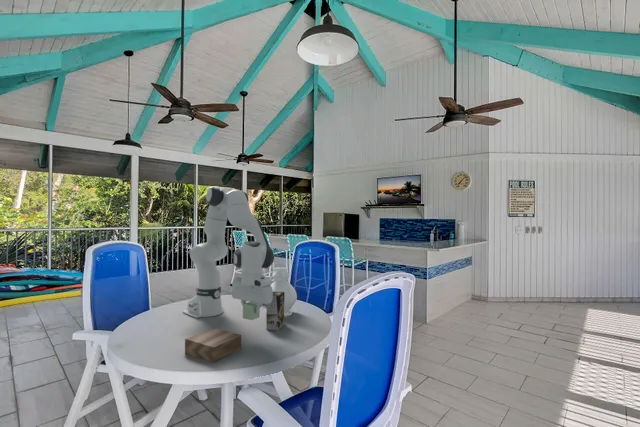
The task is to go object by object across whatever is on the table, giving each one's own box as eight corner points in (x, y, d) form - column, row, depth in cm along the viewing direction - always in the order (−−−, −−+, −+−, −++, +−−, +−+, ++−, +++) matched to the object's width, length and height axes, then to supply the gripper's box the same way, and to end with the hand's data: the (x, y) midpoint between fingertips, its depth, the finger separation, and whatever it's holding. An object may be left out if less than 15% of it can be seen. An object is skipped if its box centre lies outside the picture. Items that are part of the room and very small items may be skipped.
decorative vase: (303, 313, 172) (303, 268, 172) (277, 321, 159) (277, 272, 160) (283, 307, 184) (283, 264, 185) (257, 313, 172) (257, 268, 172)
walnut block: (184, 354, 122) (185, 338, 122) (213, 341, 134) (213, 327, 134) (214, 363, 114) (214, 347, 114) (241, 349, 126) (241, 334, 126)
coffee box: (278, 330, 146) (279, 295, 146) (265, 329, 147) (266, 295, 148) (285, 324, 155) (285, 291, 155) (272, 323, 156) (272, 290, 157)
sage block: (242, 318, 134) (242, 304, 134) (250, 315, 138) (250, 301, 138) (251, 320, 132) (251, 305, 132) (259, 316, 136) (259, 303, 136)
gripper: (228, 277, 137) (228, 309, 137) (265, 283, 128) (265, 317, 127) (239, 275, 143) (238, 305, 143) (275, 280, 133) (274, 313, 133)
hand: (251, 311), depth 135 cm, fingers closed on sage block, 5 cm apart
